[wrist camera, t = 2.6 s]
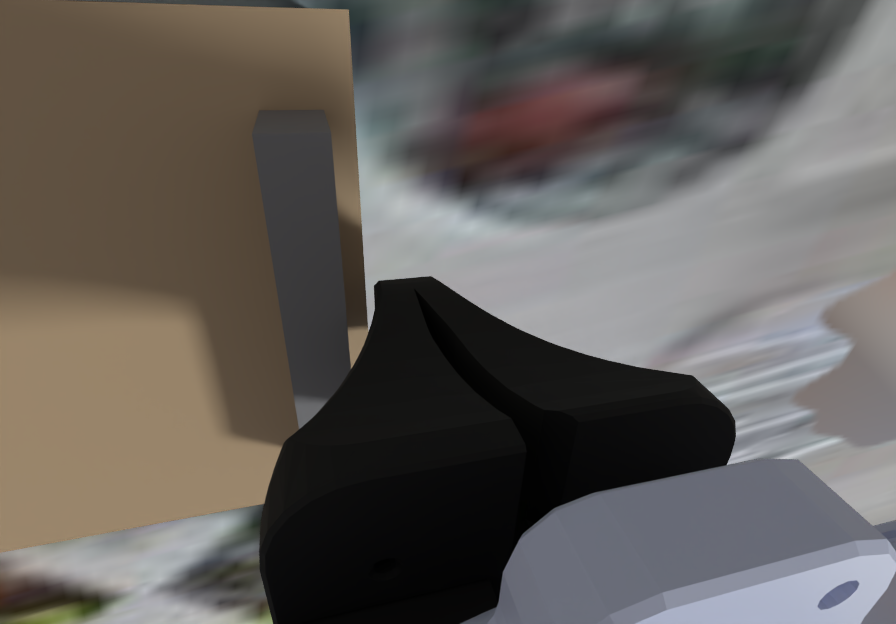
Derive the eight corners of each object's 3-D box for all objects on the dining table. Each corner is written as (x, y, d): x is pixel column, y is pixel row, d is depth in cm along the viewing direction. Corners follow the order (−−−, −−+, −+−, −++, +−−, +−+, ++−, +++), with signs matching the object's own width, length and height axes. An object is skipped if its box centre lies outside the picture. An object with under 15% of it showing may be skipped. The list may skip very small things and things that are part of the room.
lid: (374, 467, 16) (388, 546, 14) (-206, 571, 13) (-319, 698, 10) (345, 9, 10) (363, 9, 7) (-820, -29, 6) (-1460, -51, 4)
